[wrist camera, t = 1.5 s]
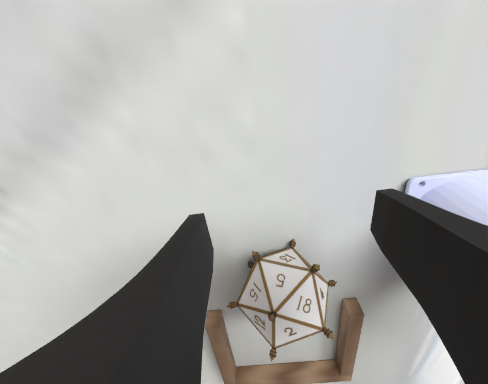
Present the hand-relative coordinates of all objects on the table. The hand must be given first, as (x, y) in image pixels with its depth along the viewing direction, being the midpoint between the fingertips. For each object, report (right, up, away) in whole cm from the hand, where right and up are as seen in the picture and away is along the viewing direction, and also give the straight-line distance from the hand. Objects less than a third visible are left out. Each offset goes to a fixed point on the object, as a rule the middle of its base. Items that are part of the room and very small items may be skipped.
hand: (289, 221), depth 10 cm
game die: (+1, -5, +14) cm, 15 cm away
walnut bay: (+3, -18, +21) cm, 28 cm away
